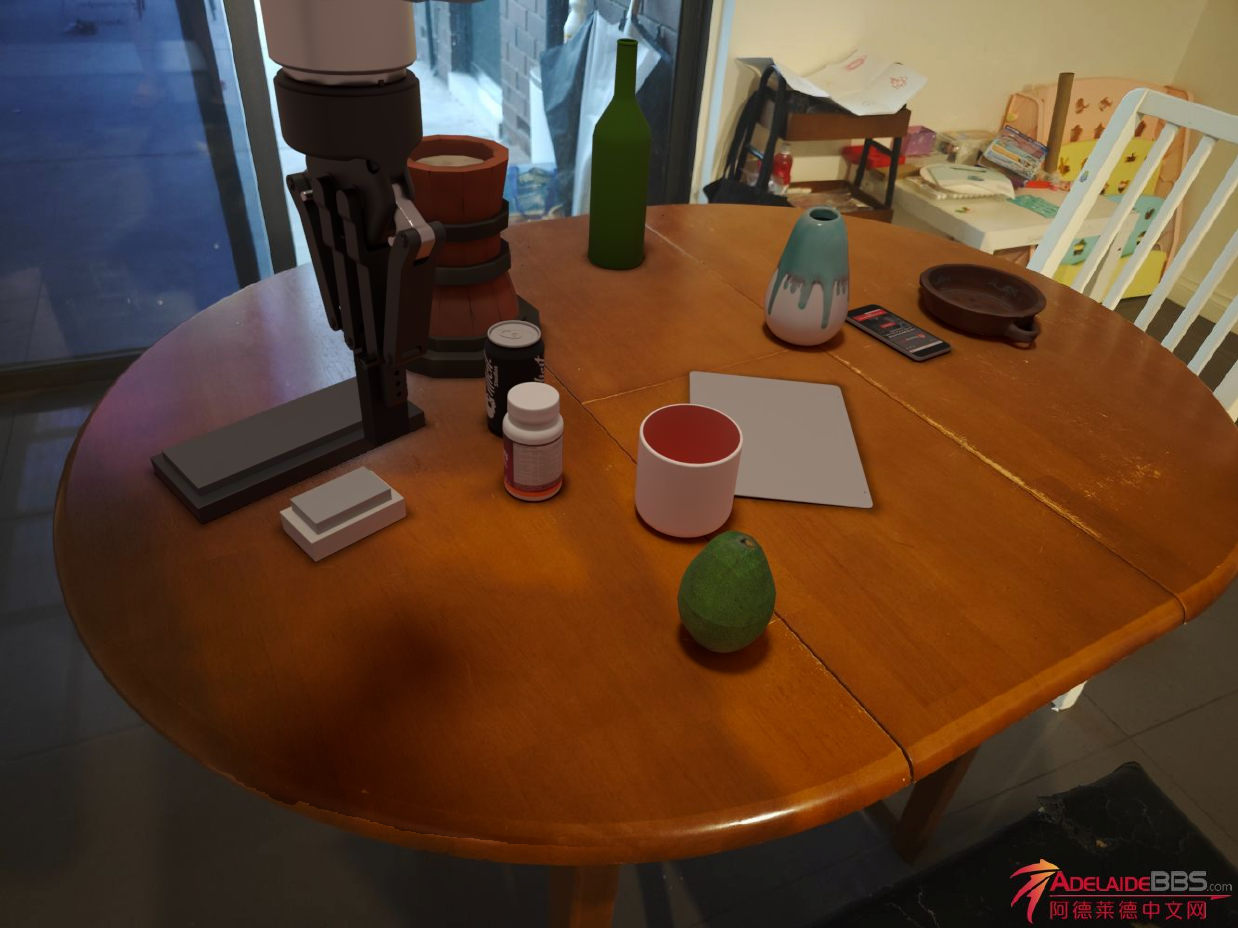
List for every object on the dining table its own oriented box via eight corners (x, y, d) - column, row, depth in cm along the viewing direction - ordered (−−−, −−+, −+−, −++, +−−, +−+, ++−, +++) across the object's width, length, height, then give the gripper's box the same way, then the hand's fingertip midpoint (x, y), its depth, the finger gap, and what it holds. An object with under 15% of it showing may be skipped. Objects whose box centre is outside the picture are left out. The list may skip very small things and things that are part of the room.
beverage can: (528, 446, 96) (528, 352, 89) (477, 431, 98) (472, 338, 91) (553, 416, 101) (554, 326, 94) (503, 403, 103) (501, 313, 96)
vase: (794, 362, 115) (820, 234, 104) (742, 325, 123) (762, 203, 112) (857, 344, 120) (889, 221, 110) (804, 310, 128) (828, 192, 117)
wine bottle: (608, 243, 144) (619, 31, 125) (653, 258, 140) (671, 41, 121) (576, 259, 138) (582, 39, 119) (621, 275, 134) (636, 50, 115)
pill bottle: (507, 466, 93) (505, 376, 86) (564, 469, 93) (566, 380, 86) (500, 502, 88) (497, 410, 81) (560, 504, 88) (562, 413, 82)
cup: (704, 557, 83) (716, 479, 77) (616, 519, 87) (620, 442, 81) (745, 500, 90) (759, 424, 84) (662, 467, 94) (669, 392, 87)
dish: (957, 278, 141) (966, 249, 138) (1072, 337, 126) (1085, 306, 123) (880, 296, 133) (888, 266, 130) (991, 362, 118) (1003, 330, 115)
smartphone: (875, 302, 129) (954, 346, 120) (873, 307, 130) (952, 350, 120) (840, 312, 126) (919, 358, 116) (839, 317, 126) (918, 362, 117)
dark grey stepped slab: (202, 524, 83) (195, 500, 81) (154, 472, 89) (146, 449, 87) (425, 425, 98) (423, 403, 96) (372, 387, 104) (369, 365, 102)
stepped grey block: (315, 562, 80) (309, 531, 77) (283, 530, 83) (276, 500, 81) (406, 516, 85) (403, 486, 83) (373, 488, 89) (369, 458, 86)
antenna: (658, 371, 111) (660, 364, 110) (838, 390, 111) (840, 382, 110) (653, 491, 91) (654, 482, 90) (872, 513, 91) (875, 504, 90)
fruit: (717, 591, 80) (735, 491, 72) (782, 642, 75) (808, 541, 68) (654, 631, 75) (667, 529, 68) (720, 688, 71) (741, 585, 63)
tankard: (519, 389, 106) (516, 193, 91) (327, 363, 108) (293, 168, 93) (557, 311, 123) (560, 135, 108) (391, 290, 125) (371, 115, 111)
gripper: (480, 85, 44) (490, 455, 58) (340, 39, 51) (379, 380, 65) (354, 104, 39) (397, 501, 53) (218, 51, 46) (288, 416, 60)
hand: (387, 435), depth 59 cm, fingers closed
